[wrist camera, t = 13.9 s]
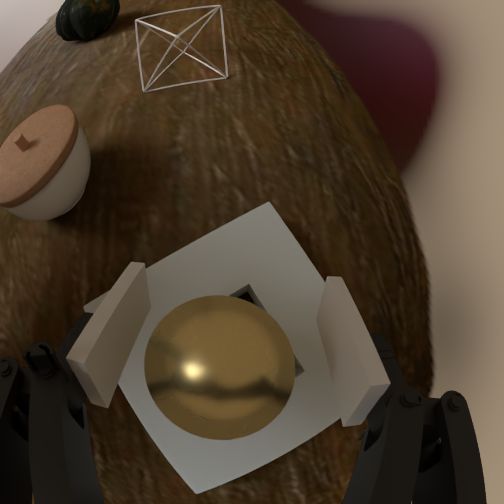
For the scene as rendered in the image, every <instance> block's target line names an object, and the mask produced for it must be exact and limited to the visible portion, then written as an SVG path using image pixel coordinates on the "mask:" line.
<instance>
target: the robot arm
mask: <svg viewBox="0 0 504 504" xmlns="http://www.w3.org/2000/svg"><path fill="white" fill-rule="evenodd" d="M150 309H151V304H150V297H149V291H148V284H147V276H146V268H145V263H139V262H131V263H130V264H129V265H128V267H127V268H126V269H125V271H124V272H123V273H122V275H121V276H120V277H119V279H118V280H117V281H116V283H115V284H114V286H113V287H112V288H111V290H110V291H109V293H108V294H107V295H106V297H105V298H104V300H103V301H102V303H101V304H100V305H99V307H98V308H97V310H96V311H95V313H89V312H86V313H85V314H83V315H82V316H81V317H79V318H78V319H77V320H76V322H75V323H74V325H73V326H72V328H71V329H70V331H69V332H68V335H66V336H65V338H64V340H63V341H62V343H61V344H60V346H59V347H58V349H57V350H56V352H54V350H53V348H52V347H51V346H50V345H49V344H47V343H45V342H38V343H34V344H32V345H31V346H29V347H28V348H27V349H26V350H25V352H24V354H23V358H24V360H25V361H26V363H27V365H28V366H29V367H20V366H19V365H18V363H17V362H16V361H15V359H13V358H11V357H6V358H3V359H1V360H0V504H32V492H33V495H34V501H35V504H104V501H103V497H102V494H101V490H100V486H99V482H98V478H97V473H96V469H95V464H94V459H93V453H92V447H91V441H90V434H89V427H88V418H87V409H86V406H85V404H84V401H85V398H86V396H87V397H88V399H89V400H90V402H91V403H92V404H95V405H98V406H101V407H105V408H108V407H109V405H110V402H111V399H112V397H113V394H114V392H115V389H116V387H117V384H118V382H119V379H120V377H121V374H122V372H123V369H124V367H125V365H126V362H127V360H128V358H129V355H130V353H131V351H132V348H133V346H134V344H135V342H136V339H137V337H138V335H139V333H140V330H141V328H142V326H143V324H144V322H145V319H146V317H147V315H148V313H149V311H150ZM316 322H317V325H318V329H319V333H320V336H321V340H322V344H323V347H324V351H325V355H326V359H327V363H328V367H329V371H330V375H331V378H332V383H333V387H334V391H335V395H336V399H337V403H338V407H339V412H340V416H341V420H342V425H343V427H346V426H354V425H361V424H362V422H363V421H364V420H365V419H366V417H367V420H368V423H369V425H368V426H367V428H366V429H365V430H364V431H363V432H362V434H361V435H360V436H359V438H358V440H361V439H362V438H363V441H362V444H361V448H360V451H359V455H358V458H357V461H356V465H355V468H354V471H353V474H352V477H351V480H350V483H349V485H348V488H347V491H346V494H345V496H344V499H343V501H342V504H411V501H412V504H487V503H486V492H485V483H484V476H483V469H482V464H481V458H480V453H479V448H478V443H477V439H476V434H475V430H474V426H473V423H472V419H471V415H470V412H469V408H468V405H467V402H466V400H465V398H464V397H463V396H462V395H461V394H460V393H458V392H456V391H448V392H446V393H444V394H443V396H442V397H441V398H440V399H439V398H429V397H423V396H422V394H421V392H420V391H418V390H417V389H416V388H414V387H411V386H408V384H407V382H406V380H405V378H404V375H403V373H402V371H401V369H400V367H399V365H398V363H397V360H396V359H395V356H394V354H393V352H391V348H390V346H389V344H388V342H387V340H386V339H385V338H384V337H383V336H381V335H380V334H379V333H369V332H368V330H367V328H366V326H365V324H364V322H363V319H362V317H361V315H360V313H359V311H358V309H357V307H356V305H355V303H354V301H353V299H352V297H351V295H350V293H349V291H348V289H347V287H346V285H345V283H344V281H343V279H342V277H333V276H327V279H326V283H325V287H324V291H323V295H322V299H321V303H320V306H319V310H318V314H317V318H316ZM14 404H15V405H16V409H15V410H14V411H13V407H14ZM363 436H364V437H363ZM440 440H441V442H440Z"/></svg>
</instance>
